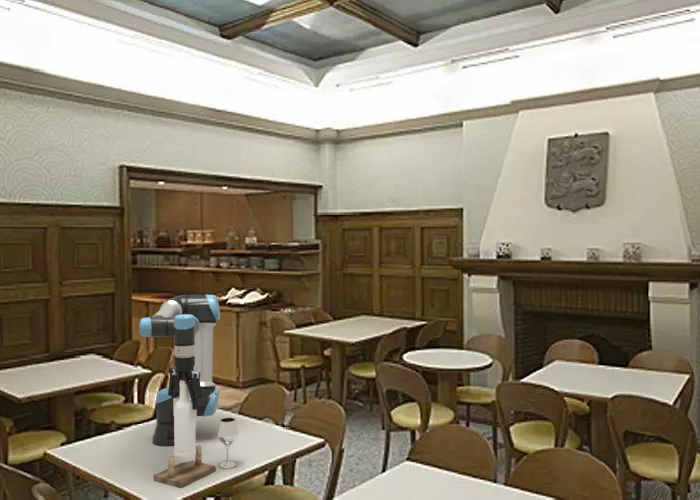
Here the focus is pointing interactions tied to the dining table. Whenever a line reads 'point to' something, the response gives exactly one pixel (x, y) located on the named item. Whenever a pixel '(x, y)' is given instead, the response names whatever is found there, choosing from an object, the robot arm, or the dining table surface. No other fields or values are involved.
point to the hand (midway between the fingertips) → (184, 416)
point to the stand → (185, 471)
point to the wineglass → (227, 437)
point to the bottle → (184, 427)
